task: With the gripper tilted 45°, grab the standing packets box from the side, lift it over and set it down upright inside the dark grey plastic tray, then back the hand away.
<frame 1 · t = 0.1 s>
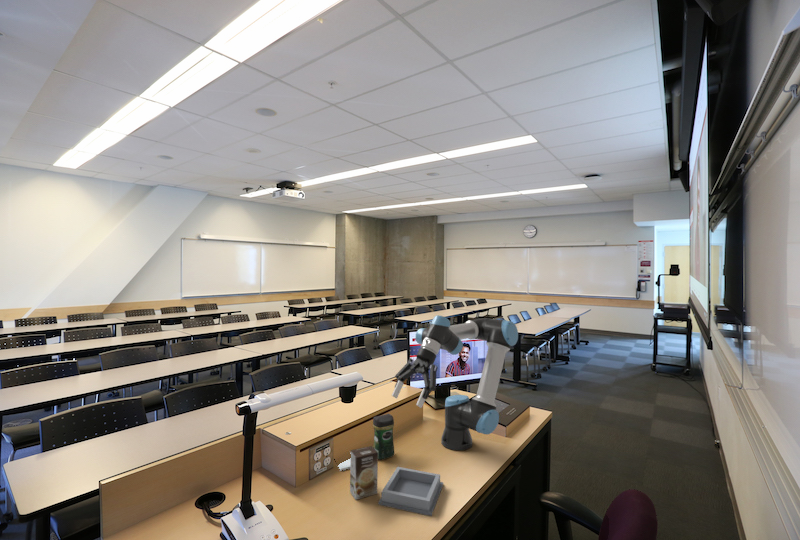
hand: (406, 401, 144), 36 cm above the table, tool tilted 35°, fingers open, 13 cm apart
coffee box: (363, 493, 146), on the table
coffee jar: (383, 456, 174), on the table
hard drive: (345, 463, 168), on the table
dock tray: (412, 494, 145), on the table
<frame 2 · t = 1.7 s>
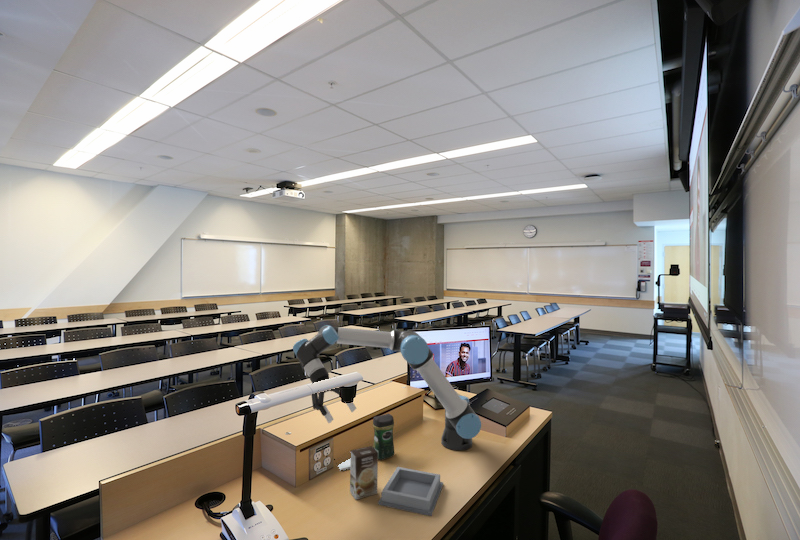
hand: (343, 415, 151), 27 cm above the table, tool tilted 45°, fingers open, 13 cm apart
nothing on the table moved.
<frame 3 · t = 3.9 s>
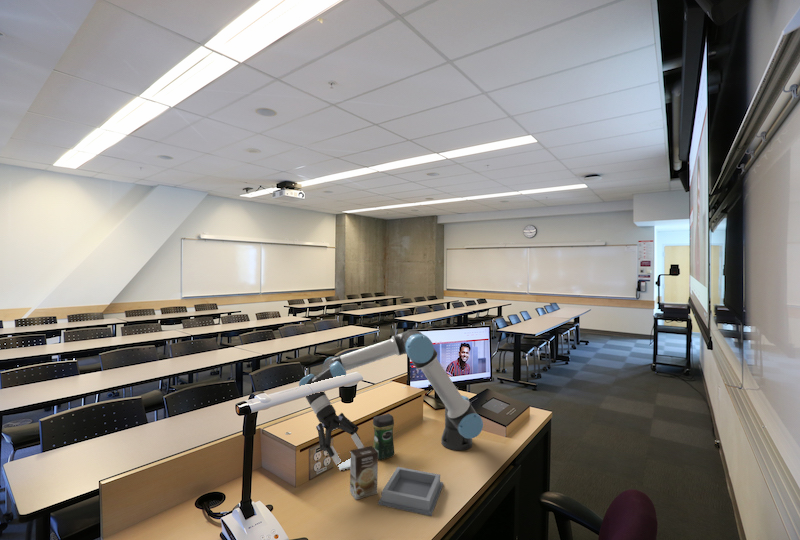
hand: (350, 455, 148), 13 cm above the table, tool tilted 45°, fingers open, 13 cm apart
nothing on the table moved.
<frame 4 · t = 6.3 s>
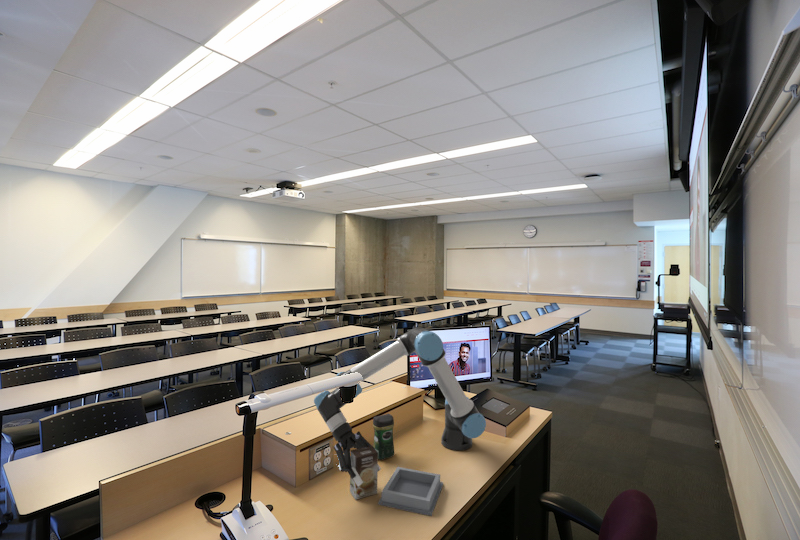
hand: (369, 477, 144), 7 cm above the table, tool tilted 45°, fingers closed on coffee box, 10 cm apart
coffee box: (363, 493, 146), on the table, touching gripper
everything else where it was.
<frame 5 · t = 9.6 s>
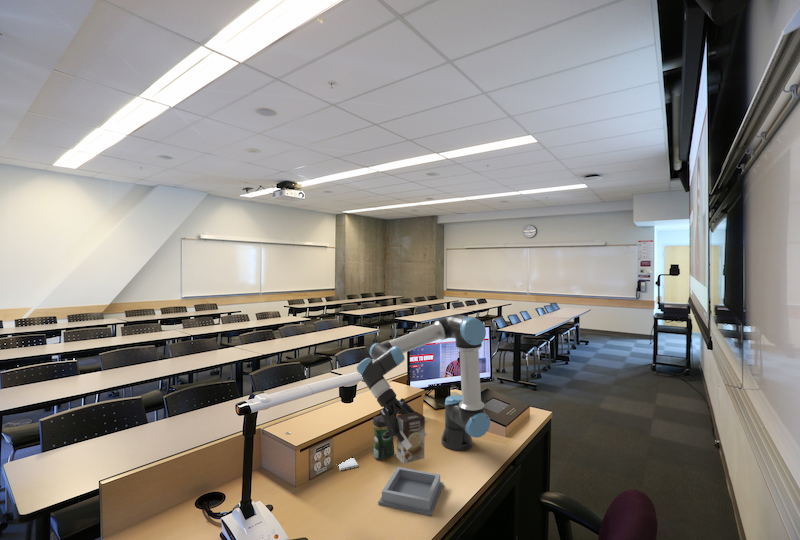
hand: (417, 442, 143), 21 cm above the table, tool tilted 45°, fingers closed on coffee box, 10 cm apart
coffee box: (410, 458, 145), point 14 cm above the table, touching gripper
everything else where it was.
when the fingers open (10 cm above the table, at t = 13.0 s): coffee box drops 2 cm, resting on dock tray.
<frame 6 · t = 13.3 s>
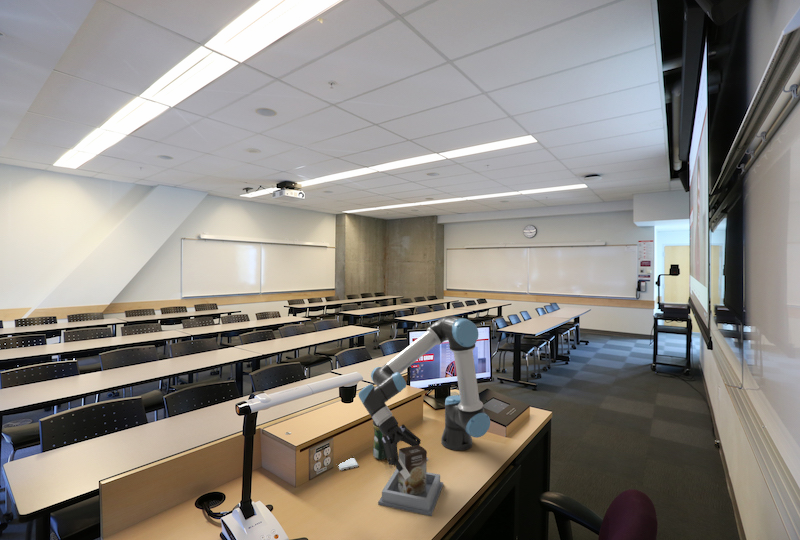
hand: (417, 469, 143), 10 cm above the table, tool tilted 45°, fingers open, 13 cm apart
coffee box: (412, 491, 145), point 1 cm above the table, touching dock tray
everything else where it was.
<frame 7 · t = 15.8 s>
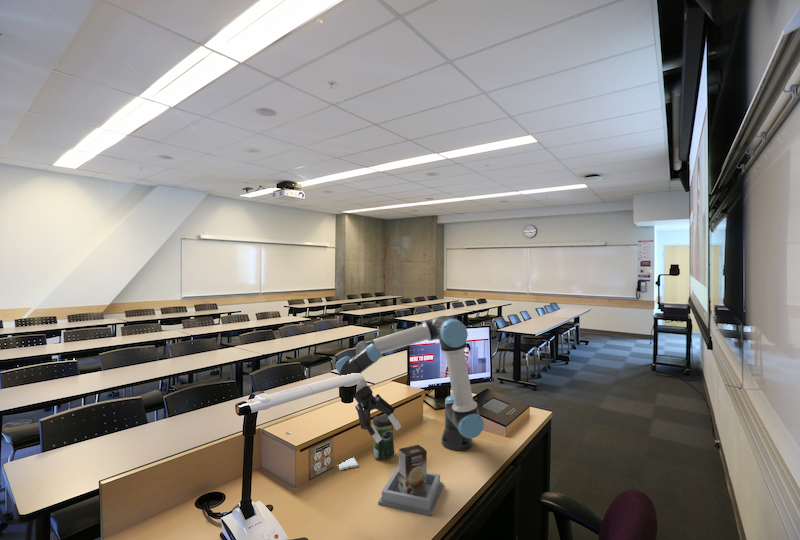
hand: (389, 434, 150), 20 cm above the table, tool tilted 45°, fingers open, 13 cm apart
nothing on the table moved.
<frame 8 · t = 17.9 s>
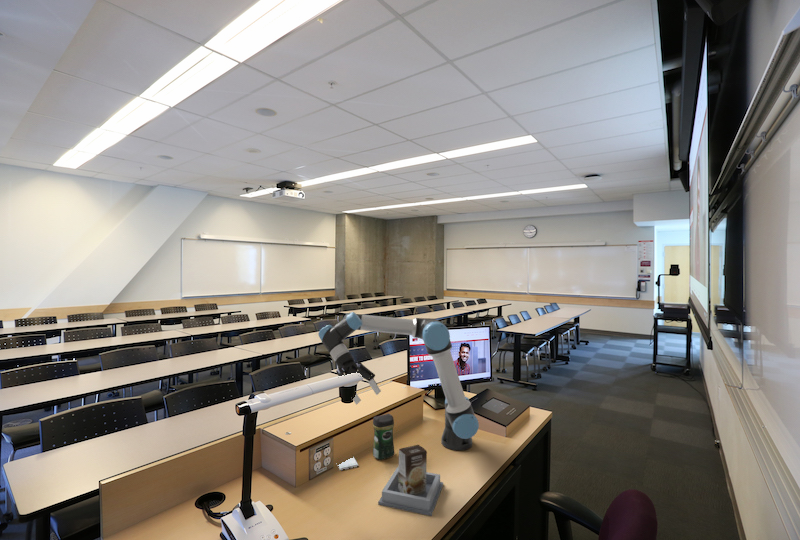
hand: (369, 397, 157), 33 cm above the table, tool tilted 45°, fingers open, 13 cm apart
nothing on the table moved.
at the end: coffee box inside the target area on the dock tray (0.2 cm from its centre), point 0.8 cm above the dock tray's base; coffee box tilted 0°; the gripper is holding nothing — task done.
